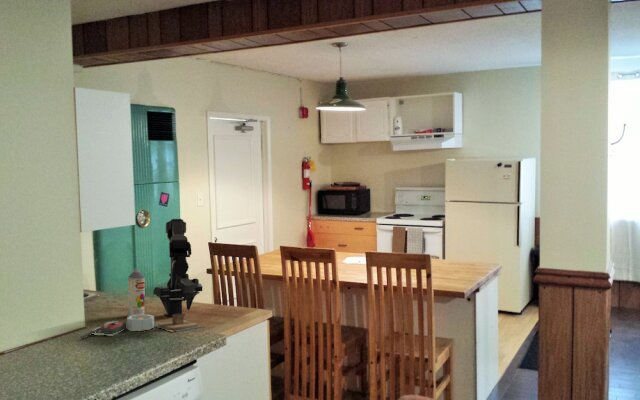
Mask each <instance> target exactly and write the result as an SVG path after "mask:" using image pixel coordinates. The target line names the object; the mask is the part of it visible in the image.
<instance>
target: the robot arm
mask: <svg viewBox="0 0 640 400" xmlns="http://www.w3.org/2000/svg"><path fill="white" fill-rule="evenodd" d="M186 233H187V222H186V221H184V219H182V218H171V219H170V220H169V221H167V222H166V223H165V234H166V238H167V239H168V256H169V258H170V270H169V271H170V273H169V275H168V276H169V279H168V281H167V282H166V286H163V285H162V286H155V288H154V289H153V295H155V296H156V297H157V298H159V300H160V302H161V304H162V305H163V308H164V311H165V313H164V314H163V315H164V316H166V317H167V316H168V317H171V318H173V314H183V315H184V316H185V313H183V302H186V309H187V310H188V311H190V309H191V307H192V304H193V301H194V299H195V298H196V296H197V295H199V294H200V293H201V292H203V285H202V283H199V281H200V280H199V279H198V278H197V277H195V278H193V279H190V277H189V274H188V273H187V272H188V271H189V268H190V267H189V263H188V261H187V258H190V257H191V255H192V244H191V243H190V241H189V240H188V237H187V236H185V234H186ZM187 310H186V311H187Z"/></svg>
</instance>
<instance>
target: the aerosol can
mask: <svg viewBox="0 0 640 400" xmlns="http://www.w3.org/2000/svg"><path fill="white" fill-rule="evenodd" d="M145 277H146V276H145V275H144V274H143V273H142V272H141V271H140V270H139V268H134V271H132V273H130V275H128V277H127V313H126V314H127V318H128V317H129V316H133V315H145V300H146V299H145V296H146V295H145V292H146V291H145V288H146V286H145V285H146V282H145V281H146V278H145Z"/></svg>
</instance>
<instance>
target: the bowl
mask: <svg viewBox="0 0 640 400" xmlns="http://www.w3.org/2000/svg"><path fill="white" fill-rule="evenodd" d="M138 318H143V319H138ZM154 326H155V316H154V315H151V314H144V315H133V316H129V317H127V318H126V330H127V329H130V330H143V329H151V328H153V329H154V328H155V327H154Z"/></svg>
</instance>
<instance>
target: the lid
mask: <svg viewBox="0 0 640 400" xmlns="http://www.w3.org/2000/svg"><path fill="white" fill-rule="evenodd" d="M183 314H184V313H183ZM183 314H173V317H172V320H171V321H164V322H159V323H157V325H158V326H160V327H163V328H166V329H169V330H173V331H176V330H181V329H187V328H192V327H198V326H199V323H196V322H194V321H189V320H186V319H184V318H185V317H184V316H185V315H183Z"/></svg>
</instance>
